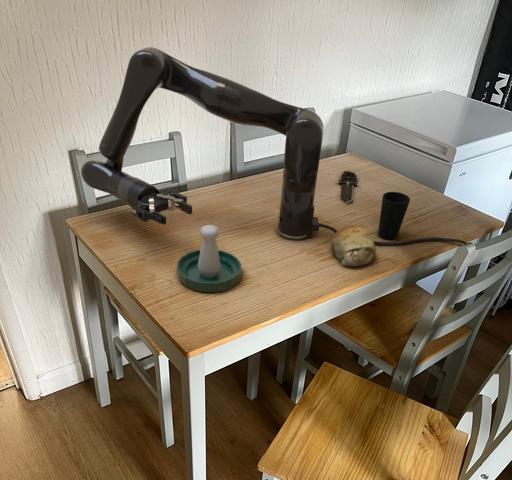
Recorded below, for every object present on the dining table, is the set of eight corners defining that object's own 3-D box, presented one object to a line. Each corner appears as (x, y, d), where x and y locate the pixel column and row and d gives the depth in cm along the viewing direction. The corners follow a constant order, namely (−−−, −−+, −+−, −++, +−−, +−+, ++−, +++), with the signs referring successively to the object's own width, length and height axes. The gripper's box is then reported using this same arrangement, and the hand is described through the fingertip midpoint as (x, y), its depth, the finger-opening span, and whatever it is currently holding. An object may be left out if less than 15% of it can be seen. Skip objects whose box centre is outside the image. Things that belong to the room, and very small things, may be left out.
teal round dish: (240, 259, 143) (240, 249, 141) (241, 294, 131) (242, 283, 129) (179, 258, 142) (179, 248, 140) (175, 292, 130) (175, 282, 128)
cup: (384, 226, 163) (393, 189, 155) (405, 236, 159) (415, 198, 151) (369, 234, 159) (377, 196, 151) (390, 244, 155) (400, 206, 147)
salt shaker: (217, 281, 134) (218, 235, 125) (195, 278, 134) (194, 231, 126) (223, 269, 138) (224, 224, 130) (201, 266, 139) (201, 220, 130)
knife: (351, 205, 173) (351, 201, 172) (331, 202, 174) (331, 198, 173) (359, 176, 192) (360, 172, 191) (341, 173, 193) (342, 169, 192)
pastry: (340, 238, 156) (345, 213, 150) (381, 251, 151) (387, 225, 146) (320, 259, 146) (324, 232, 141) (363, 273, 142) (369, 246, 136)
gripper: (114, 187, 135) (155, 210, 127) (158, 173, 144) (199, 193, 136) (117, 215, 140) (157, 238, 132) (159, 199, 149) (199, 220, 141)
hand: (178, 215), depth 134 cm, fingers open, 8 cm apart
